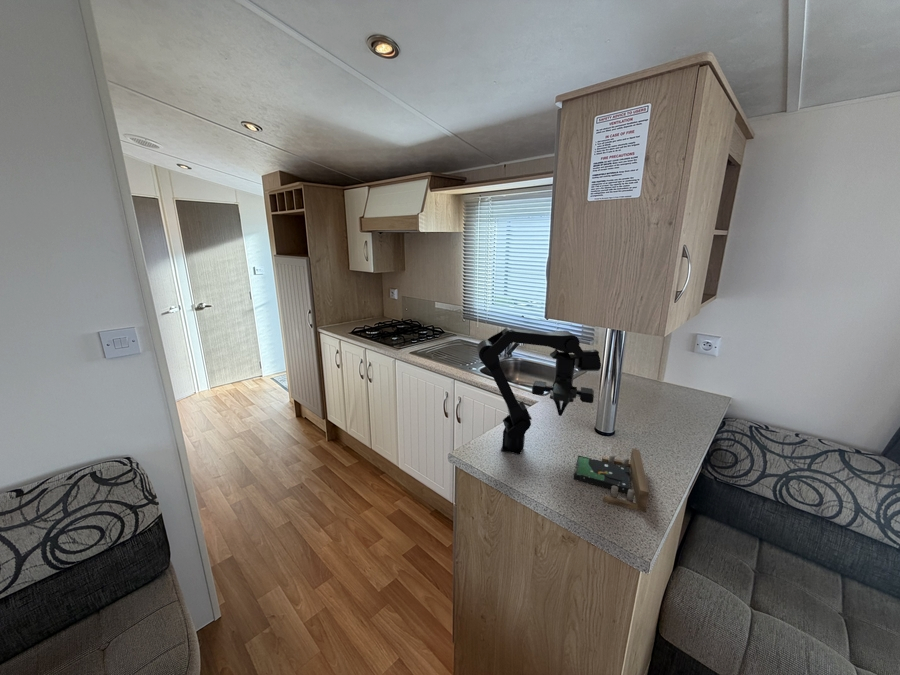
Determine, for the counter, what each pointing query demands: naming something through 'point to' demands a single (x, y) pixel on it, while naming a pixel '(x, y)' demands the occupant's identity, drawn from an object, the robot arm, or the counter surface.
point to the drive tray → (637, 480)
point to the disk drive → (602, 474)
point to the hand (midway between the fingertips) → (560, 415)
